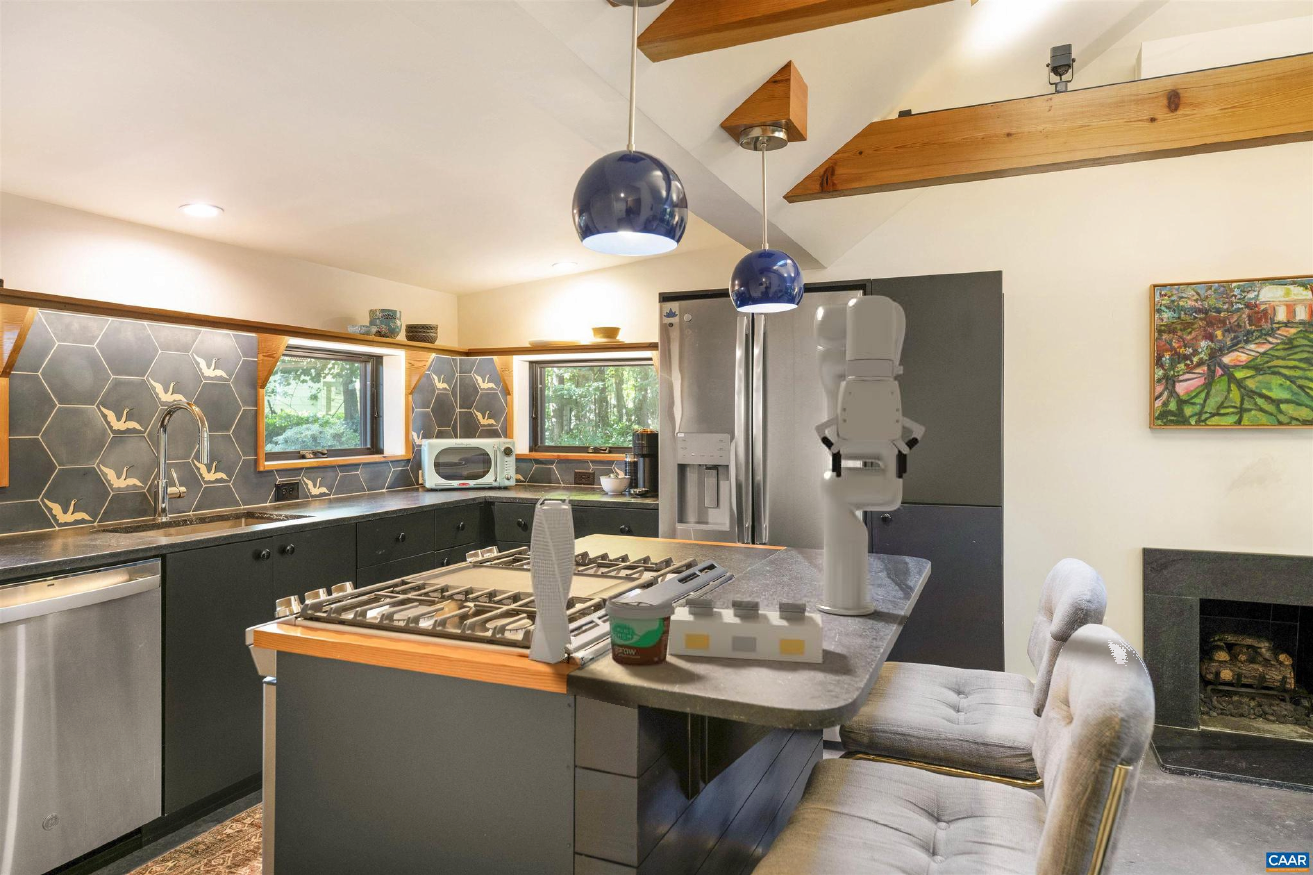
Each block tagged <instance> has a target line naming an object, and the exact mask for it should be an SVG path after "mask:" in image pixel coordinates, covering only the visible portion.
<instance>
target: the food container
mask: <svg viewBox="0 0 1313 875" xmlns="http://www.w3.org/2000/svg"><path fill="white" fill-rule="evenodd" d="M674 606H675V605H673V601H670V602H665V603H663V604H652V603H649V602H648V603H647V602H644V601H633V602H624V601H623V602H621V601H613V600H612V596H608V597H607V601H606V602H605V606H604V613H606V615H608V622H609V623H608V624H609V634H610V635H609V637H610V645H611V646H610V648H611V660H613V661H614V663H617V664H620V665H625V666H629V667H650V666H656V665H660V664H663V663H664V662H666V661H667V654H668V648H669V629H670V620H671V615H674V614H675V607H674Z"/></svg>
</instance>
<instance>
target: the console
mask: <svg viewBox="0 0 1313 875" xmlns="http://www.w3.org/2000/svg"><path fill="white" fill-rule="evenodd" d="M674 611H675V614H674V615H671V620H670V629H669V638H668V655H676V656H677V655H679V656H680V655H681V656H694V657H695V656H697V657H712V658H713V657H714V658H727V659H728V658H729V659H745V660H747V659H748V660H761V661H775V662H776V661H777V662H778V661H779V662H794V663H795V662H797V663H811V664H814V663H815V664H823V642H824V641H823V632H824V631H823V630H824V629H823V628H824V627H823V622H822V617H821V614H820V613H808V612H806V611H805V612H794V611H779V610H778V611H765V610H763V611H762V610H752V609H734V608H732V609H725V608H724V609H722V608H721V609H720V608H711V607H690V606H688V607H681V606H678V607H676V608H674Z"/></svg>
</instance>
